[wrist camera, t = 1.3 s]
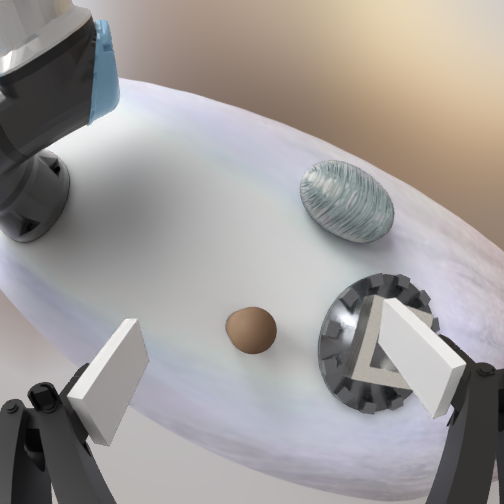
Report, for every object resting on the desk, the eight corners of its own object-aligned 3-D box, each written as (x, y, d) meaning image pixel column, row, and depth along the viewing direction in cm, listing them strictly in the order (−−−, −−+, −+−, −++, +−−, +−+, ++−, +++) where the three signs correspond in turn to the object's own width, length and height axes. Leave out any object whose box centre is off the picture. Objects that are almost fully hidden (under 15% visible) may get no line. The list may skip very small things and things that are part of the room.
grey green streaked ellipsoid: (400, 202, 38) (413, 191, 29) (370, 256, 40) (375, 261, 31) (323, 158, 42) (314, 136, 33) (294, 210, 44) (277, 202, 35)
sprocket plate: (297, 397, 34) (306, 406, 30) (340, 256, 39) (352, 250, 35) (409, 414, 34) (424, 420, 30) (440, 296, 39) (456, 293, 35)
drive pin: (221, 336, 34) (222, 345, 23) (231, 306, 35) (237, 300, 24) (251, 346, 35) (268, 359, 23) (261, 316, 36) (282, 315, 24)
